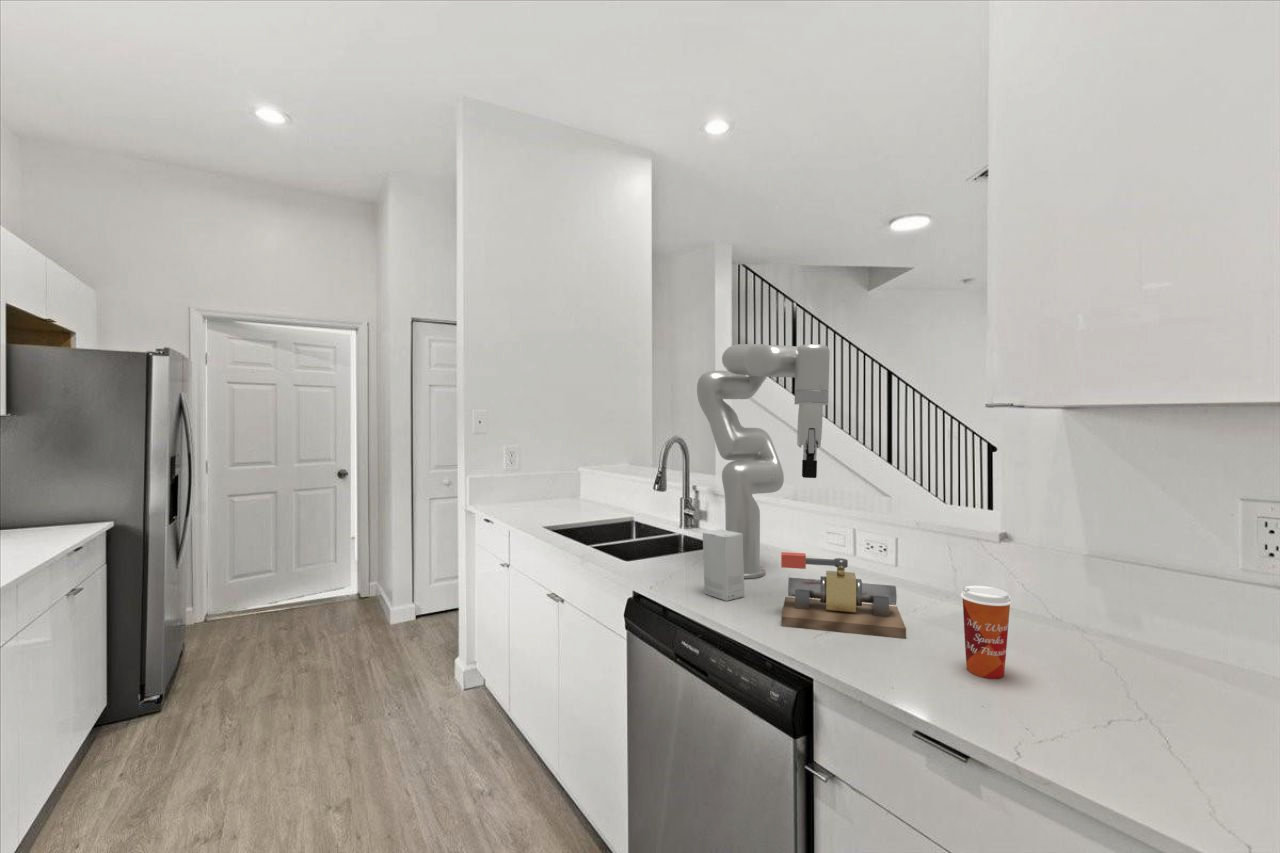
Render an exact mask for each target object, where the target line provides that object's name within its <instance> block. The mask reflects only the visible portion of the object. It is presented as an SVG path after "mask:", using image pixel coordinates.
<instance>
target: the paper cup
mask: <svg viewBox="0 0 1280 853" xmlns="http://www.w3.org/2000/svg"><path fill="white" fill-rule="evenodd" d="M960 597H961V598H962V610H963V631H964V632H963V633H964V649H965V662H966V663H965V665H966V670H967V671H968V672H969V673H970V674H973V675H975V676H977V677H980V678H983V679H989V680H990V679H992V680H997V679H1002V678H1003V677H1004V675H1005V669H1006V657H1007V648H1008V634H1009V619H1010V607H1011V605H1012V604H1013V603H1014V601H1013V600H1012V599H1011V598H1012V597H1011V595H1009V593H1008V592H1007V591H1006V590H1002V589H1001V588H997V587H992V586H987V585H986V586H985V585H967V586H965V587H963V590H962V592H961V593H960Z"/></svg>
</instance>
